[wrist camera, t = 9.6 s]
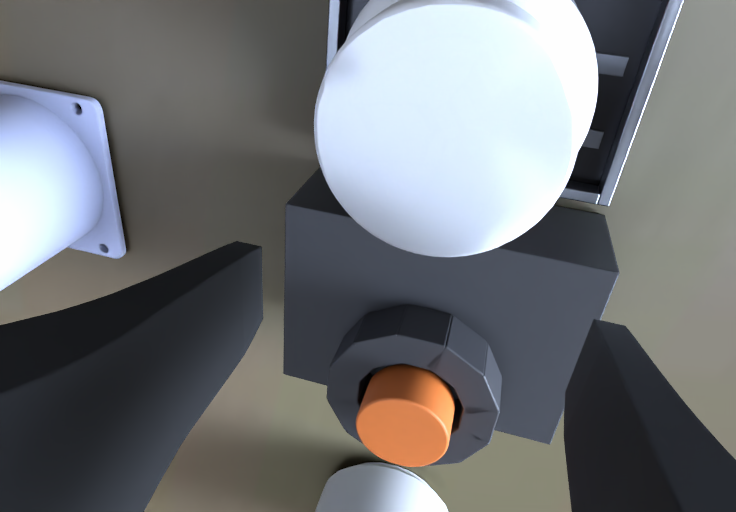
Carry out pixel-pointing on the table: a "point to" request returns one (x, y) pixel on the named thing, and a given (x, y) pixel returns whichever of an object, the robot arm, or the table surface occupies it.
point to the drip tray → (615, 80)
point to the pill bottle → (455, 119)
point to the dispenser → (444, 315)
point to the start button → (406, 416)
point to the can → (378, 491)
